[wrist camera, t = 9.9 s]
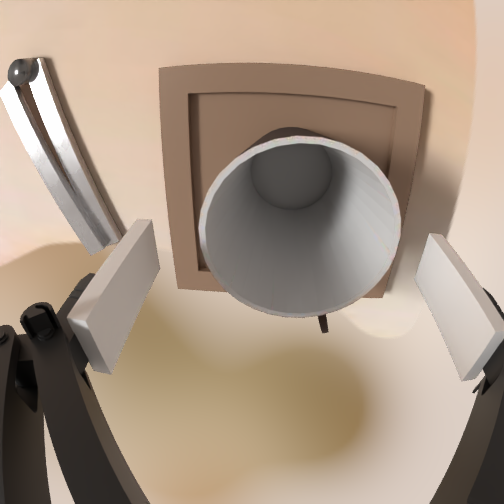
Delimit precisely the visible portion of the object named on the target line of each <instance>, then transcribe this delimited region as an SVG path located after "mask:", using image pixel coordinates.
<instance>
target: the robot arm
mask: <svg viewBox="0 0 504 504" xmlns="http://www.w3.org/2000/svg"><path fill="white" fill-rule="evenodd" d="M159 270H160V265H159V260H158V255H157V248H156V242H155V236H154V230H153V223H152V219H137V220H136V221H135V223H134V224H133V225H132V226H131V228H130V229H129V230H128V231H127V233H126V234H125V235H124V237H123V238H122V239H121V240H120V242H119V243H118V244H117V246H116V247H115V248H114V250H113V251H112V252H111V254H110V255H109V256H108V258H107V259H106V261H105V262H104V263H103V265H102V266H101V268H100V269H99V270H98V272H97V273H96V274H93V273H89V274H88V275H87V276H85V277H84V278H83V279H81V280H80V282H79V283H78V284H77V286H76V287H75V288H74V291H72V292H71V294H70V295H69V297H68V298H67V300H66V301H65V303H64V304H63V305H62V307H61V308H60V310H59V311H58V313H57V314H55V312H54V310H53V308H52V306H51V305H50V304H49V303H47V302H39V303H35V304H33V305H31V306H30V307H28V308H27V309H26V310H25V311H24V312H23V314H22V315H21V318H20V323H21V325H22V326H23V328H24V330H25V332H26V333H27V334H21V335H17V334H16V332H15V330H14V329H13V327H12V326H10V325H3V326H0V504H51V500H50V493H49V486H48V478H47V468H46V457H45V443H44V415H45V419H46V423H47V427H48V430H49V434H50V437H51V440H52V443H53V447H54V450H55V453H56V456H57V459H58V462H59V464H60V467H61V470H62V473H63V475H64V478H65V481H66V483H67V486H68V488H69V490H70V493H71V495H72V497H73V500H74V502H75V504H150V503H149V501H148V499H147V498H146V496H145V494H144V493H143V491H142V490H141V488H140V486H139V484H138V483H137V481H136V479H135V477H134V476H133V474H132V472H131V470H130V468H129V467H128V465H127V463H126V461H125V459H124V457H123V455H122V453H121V451H120V449H119V447H118V445H117V443H116V441H115V439H114V437H113V435H112V432H111V430H110V428H109V426H108V424H107V421H106V419H105V417H104V414H103V412H102V410H101V407H100V405H99V403H98V400H97V398H96V395H95V393H94V390H93V387H92V385H91V382H90V380H89V377H88V374H87V372H86V371H85V367H86V365H87V363H88V361H89V363H90V365H91V366H92V368H93V370H94V371H97V372H101V373H107V374H112V372H113V370H114V367H115V365H116V362H117V360H118V358H119V355H120V353H121V351H122V349H123V346H124V344H125V342H126V339H127V337H128V335H129V333H130V330H131V328H132V326H133V324H134V322H135V320H136V317H137V315H138V313H139V311H140V309H141V307H142V304H143V302H144V300H145V298H146V296H147V294H148V292H149V290H150V288H151V286H152V284H153V282H154V279H155V278H156V276H157V274H158V272H159ZM414 280H415V282H416V284H417V285H418V287H419V289H420V291H421V293H422V295H423V297H424V299H425V301H426V303H427V305H428V307H429V309H430V311H431V313H432V315H433V317H434V319H435V321H436V323H437V326H438V328H439V330H440V332H441V334H442V336H443V339H444V341H445V343H446V345H447V348H448V350H449V352H450V355H451V357H452V359H453V362H454V364H455V366H456V369H457V371H458V374H459V376H460V379H461V381H466V380H472V379H475V378H476V377H477V376H478V374H479V373H480V372H481V370H482V369H483V371H484V373H485V376H484V378H483V379H482V380H481V381H480V383H479V384H478V385H477V386H476V388H475V389H474V390H473V392H472V393H475V392H476V391H477V390H478V389H479V390H478V394H477V397H476V400H475V403H474V406H473V409H472V412H471V415H470V418H469V420H468V423H467V425H466V428H465V431H464V433H463V436H462V438H461V441H460V443H459V445H458V448H457V450H456V452H455V455H454V457H453V459H452V461H451V463H450V465H449V468H448V470H447V472H446V474H445V476H444V478H443V480H442V482H441V484H440V485H439V487H438V489H437V491H436V493H435V495H434V497H433V498H432V500H431V502H430V504H504V313H503V312H502V311H501V309H500V307H499V305H497V302H496V301H495V300H494V298H493V296H492V295H491V294H489V292H487V291H486V290H485V289H484V288H482V287H481V286H480V284H479V283H478V282H477V280H476V279H475V277H474V276H473V274H472V273H471V271H470V270H469V269H468V268H467V266H466V265H465V263H464V262H463V261H462V259H461V258H460V257H459V256H458V254H457V253H456V252H455V250H454V249H453V248H452V246H451V245H450V244H449V243H448V241H447V240H446V239H445V238H444V236H443V235H442V234H434V233H429V235H428V239H427V242H426V245H425V248H424V252H423V255H422V258H421V261H420V264H419V267H418V270H417V272H416V275H415V278H414Z"/></svg>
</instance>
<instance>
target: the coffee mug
mask: <svg viewBox="0 0 504 504" xmlns="http://www.w3.org/2000/svg"><path fill="white" fill-rule="evenodd" d="M198 230H199V241H200V247H201V251H202V254H203V257H204V260H205V263H206V264H207V266H208V268H209V270H210V271H211V273H212V275H213V277H214V278H215V279H216V280H217V281H218V283H219V284H220V285H221V286H222V287H223V288H224V290H226V291H227V292H228V293H229V294H231V295H232V296H233V297H235V298H236V299H237V300H238V301H240V302H242V303H244V304H245V305H247V306H249V307H251V308H253V309H256V310H258V311H261V312H264V313H267V314H271V315H277V316H282V317H295V318H296V317H298V318H305V317H313V316H318V319H319V323H320V327H321V331H322V333H327V332H328V325H327V318H326V314H327V313H331V312H334V311H337V310H340V309H342V308H344V307H346V306H348V305H350V304H352V303H354V302H355V301H357V300H358V299H360V298H361V297H363V296H364V295H366V294H367V293H368V292H369V291H370V290H371V289H372V288H373V287H374V286H375V285H377V284H378V283H379V281H380V280H381V279H382V277H383V276H384V275H385V273H386V272H387V270H388V269H389V267H390V265H391V263H392V261H393V259H394V257H395V255H396V252H397V248H398V244H399V240H400V236H401V215H400V210H399V204H398V200H397V197H396V195H395V193H394V191H393V188H392V186H391V184H390V182H389V181H388V179H387V178H386V177H385V175H384V174H383V173H382V171H381V170H380V169H379V167H378V166H377V165H376V164H374V163H373V162H372V161H371V160H370V159H369V158H367V157H366V156H365V155H364V154H363V153H361V152H359V151H357V150H355V149H353V148H352V147H350V146H348V145H346V144H344V143H342V142H339V141H337V140H334V139H331V138H329V137H326V136H323V135H321V134H318V133H315V132H313V131H310V130H307V129H303V128H299V127H284V128H279V129H276V130H273V131H271V132H269V133H267V134H266V135H264V136H263V137H261V138H260V139H259V140H257V141H256V142H255V143H254V144H252V145H251V146H250V147H248V148H247V149H246V150H245V151H243V152H242V153H241V154H240V155H238V156H237V157H236V158H235V159H234V160H232V161H231V162H230V163H229V164H228V165H227V166H226V167H225V168H224V169H223V170H222V171H221V172H220V173H219V174H218V176H217V177H216V179H215V180H214V182H213V184H212V185H211V187H210V188H209V190H208V191H207V194H206V197H205V199H204V202H203V205H202V207H201V211H200V219H199V226H198Z"/></svg>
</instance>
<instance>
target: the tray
mask: <svg viewBox="0 0 504 504" xmlns="http://www.w3.org/2000/svg"><path fill="white" fill-rule="evenodd" d="M424 93H425V85H421V84H417V83H413V82H409V81H405V80H400V79H396V78H391V77H386V76H381V75H375V74H369V73H363V72H357V71H350V70H343V69H335V68H327V67H317V66H306V65H293V64H273V63H217V64H198V65H184V66H173V67H163V68H159V97H160V120H161V138H162V153H163V166H164V178H165V189H166V199H167V209H168V218H169V227H170V235H171V243H172V251H173V258H174V265H175V272H176V279H177V285H178V289H190V290H204V291H218V292H219V291H220V292H227V291H226V290H224V288H223V287H222V286H221V285H220V284H219V283H218V281H217V280H216V279H215V278H214V277H213V275H212V273H211V271H210V270H209V268H208V266H207V264H206V263H205V260H204V257H203V254H202V251H201V247H200V241H199V230H198V226H199V219H200V211H201V207H202V205H203V202H204V199H205V197H206V194H207V191H208V190H209V188H210V187H211V185H212V184H213V182H214V180H215V179H216V177H217V176H218V174H219V173H220V172H221V171H222V170H223V169H224V168H225V167H226V166H227V165H228V164H229V163H230V162H231V161H232V160H234V159H235V158H236V157H237V156H238V155H240V154H241V153H242V152H243V151H245V150H246V149H247V148H248V147H250V146H251V145H252V144H254V143H255V142H256V141H257V140H259V139H260V138H261V137H263V136H264V135H266V134H267V133H269V132H271V131H273V130H276V129H279V128H284V127H299V128H303V129H307V130H310V131H313V132H315V133H318V134H321V135H323V136H326V137H329V138H331V139H334V140H337V141H339V142H342V143H344V144H346V145H348V146H350V147H352V148H353V149H355V150H357V151H359V152H361V153H363V154H364V155H365V156H366V157H367V158H369V159H370V160H371V161H372V162H373V163H374V164H376V165H377V166H378V167H379V169H380V170H381V171H382V173H383V174H384V175H385V177H386V178H387V179H388V181H389V182H390V184H391V186H392V188H393V191H394V193H395V195H396V197H397V200H398V204H399V210H400V215H401V231H402V227H403V222H404V218H405V214H406V209H407V205H408V200H409V195H410V190H411V185H412V180H413V175H414V169H415V163H416V157H417V151H418V145H419V138H420V130H421V122H422V114H423V104H424ZM394 258H395V257H394ZM393 261H394V259H393ZM393 261H392V263H391V265H390V267H389V269H388V270H387V272H386V273H385V275H384V276H383V277H382V279H381V280H380V281H379V283H378V284H377V285H375V286H374V287H373V288H372V289H371V290H370V291H369V292H368V293H367V294H366V295H364V296H363V297H361V298H383V294H384V291H385V288H386V285H387V282H388V278H389V275H390V272H391V268H392V265H393Z"/></svg>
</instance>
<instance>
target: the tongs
mask: <svg viewBox="0 0 504 504" xmlns="http://www.w3.org/2000/svg"><path fill="white" fill-rule="evenodd" d="M24 84H30V86H31V89H32V92H33V95H34V98H35V101H36V103H37V106H38V109H39V111H40V114H41V117H42V119H43V122H44V124H45V127H46V129H47V132H48V134H49V137H50V139H51V141H52V144H53V146H54V148H55V151H56V153H57V155H58V157H59V160H60V162H61V164H62V166H63V168H64V171H65V173H66V175H67V177H68V179H69V181H70V183H71V185H72V187H73V189H74V191H75V192H74V191H73V189H72V187H71V186H70V184H69V182H68V180H67V179H66V177H65V175H64V173H63V172H62V170H61V168H60V166H59V165H58V163H57V161H56V159H55V157H54V156H53V154H52V152H51V150H50V148H49V146H48V144H47V143H46V141H45V139H44V137H43V135H42V133H41V131H40V129H39V127H38V125H37V123H36V121H35V119H34V117H33V115H32V113H31V111H30V108H29V106H28V104H27V102H26V100H25V98H24V95H23V93H22V91H21V89H20V86H19V85H24ZM0 94H1V96H2V99H3V101H4V103H5V106H6V108H7V110H8V112H9V115H10V117H11V119H12V121H13V123H14V125H15V128H16V130H17V132H18V134H19V136H20V138H21V140H22V142H23V144H24V146H25V148H26V150H27V152H28V154H29V156H30V157H31V159H32V161H33V163H34V165H35V167H36V169H37V170H38V172H39V174H40V176H41V178H42V179H43V181H44V183H45V185H46V186H47V188H48V190H49V191H50V193H51V195H52V197H53V198H54V200H55V202H56V203H57V205H58V206H59V208H60V210H61V211H62V213H63V214H64V216H65V218H66V219H67V221H68V222H69V224H70V225H71V227H72V229H73V230H74V232H75V233H76V235H77V236H78V238H79V239H80V241H81V242H82V244H83V245H84V246H85V248H86V249H87V251H88V252H89V254H90V255H93V254H95V253H96V252H99V251H101V250H102V249H104V248H105V247H106V246H108V245H111V244H114V243H117V242H119V241H120V240H121V239H122V235H121V233H120V231H119V230H118V228H117V226H116V224H115V222H114V220H113V218H112V216H111V214H110V212H109V211H108V209H107V207H106V205H105V203H104V201H103V199H102V197H101V195H100V193H99V191H98V189H97V187H96V185H95V182H94V180H93V178H92V176H91V174H90V172H89V170H88V168H87V165H86V163H85V161H84V159H83V157H82V154H81V152H80V150H79V148H78V145H77V143H76V141H75V139H74V136H73V134H72V131H71V129H70V127H69V124H68V122H67V119H66V117H65V114H64V112H63V109H62V107H61V104H60V102H59V99H58V96H57V94H56V91H55V88H54V86H53V83H52V80H51V77H50V74H49V71H48V68H47V65H46V62H45V59H44V58H39V59H37V60H36V59H34V58H26V59H17V60H15V61H14V62H13V63H12V64H11V65H10V67H9V70H8V83H7V84H6V85H5V86H4V88H3V89H2V90H1V91H0ZM75 193H76V194H75ZM76 195H77V196H76Z"/></svg>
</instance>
